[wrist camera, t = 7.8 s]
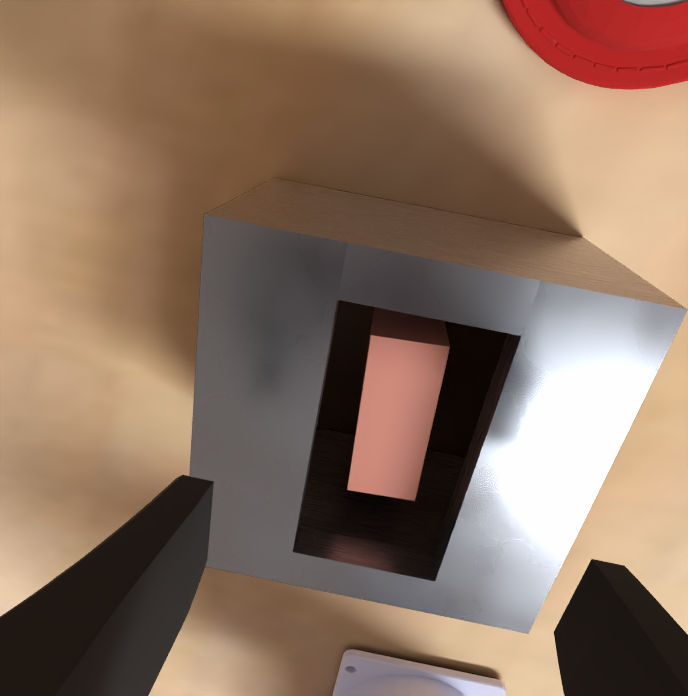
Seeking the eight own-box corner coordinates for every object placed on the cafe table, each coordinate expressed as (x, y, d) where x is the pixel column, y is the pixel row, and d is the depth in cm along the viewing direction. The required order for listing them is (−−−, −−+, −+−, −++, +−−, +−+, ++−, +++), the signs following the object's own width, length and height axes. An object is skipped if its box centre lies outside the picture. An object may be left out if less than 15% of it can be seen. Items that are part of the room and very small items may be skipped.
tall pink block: (411, 411, 20) (414, 501, 15) (359, 403, 20) (347, 489, 15) (437, 285, 18) (449, 347, 13) (378, 277, 18) (370, 334, 13)
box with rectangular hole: (491, 484, 21) (528, 633, 15) (245, 434, 21) (184, 562, 15) (584, 237, 16) (687, 309, 10) (273, 177, 16) (203, 214, 11)
